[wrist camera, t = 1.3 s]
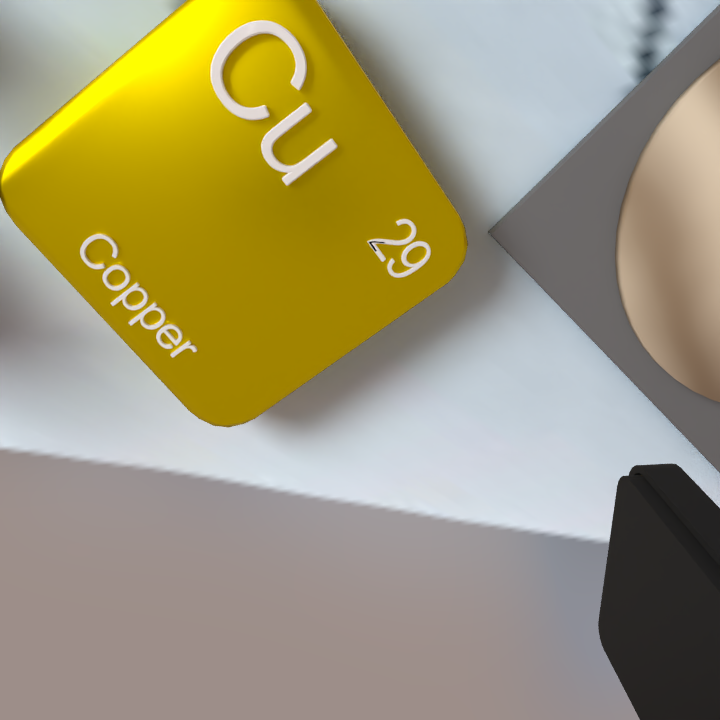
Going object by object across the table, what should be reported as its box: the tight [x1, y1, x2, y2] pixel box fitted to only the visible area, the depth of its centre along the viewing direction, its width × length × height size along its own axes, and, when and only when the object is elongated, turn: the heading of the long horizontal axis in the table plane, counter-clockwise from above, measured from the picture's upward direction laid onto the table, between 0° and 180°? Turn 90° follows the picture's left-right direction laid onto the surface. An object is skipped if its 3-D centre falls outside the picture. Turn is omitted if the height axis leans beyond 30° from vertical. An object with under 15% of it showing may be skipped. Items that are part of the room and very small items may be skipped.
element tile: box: [0, 0, 468, 427], centre depth 30 cm, size 15×15×5 cm
